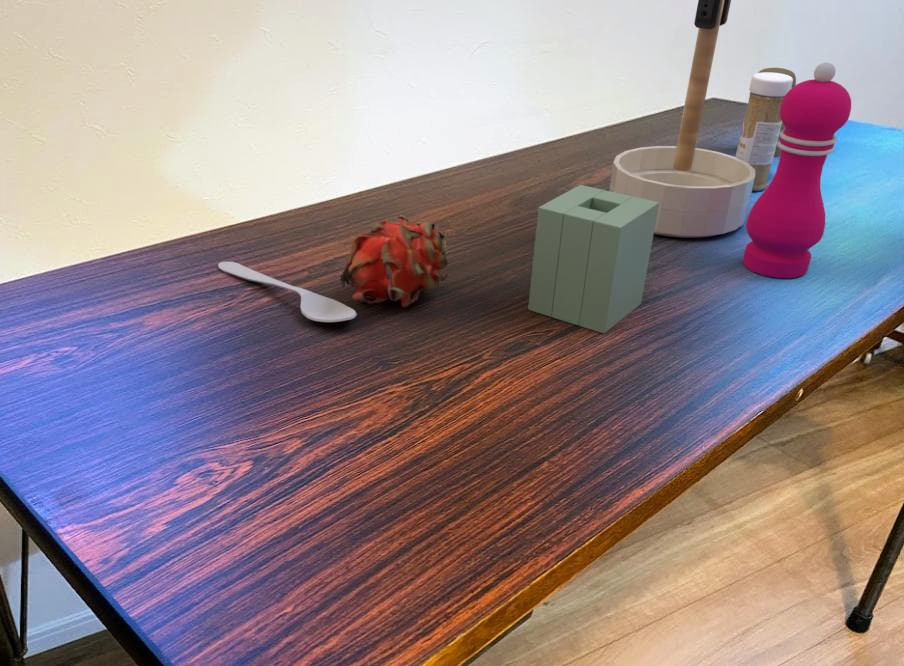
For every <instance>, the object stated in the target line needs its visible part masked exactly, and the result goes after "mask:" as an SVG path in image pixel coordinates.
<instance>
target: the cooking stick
mask: <svg viewBox="0 0 904 666" xmlns="http://www.w3.org/2000/svg"><path fill="white" fill-rule="evenodd" d="M724 1H725V0H722V6H721V11H720V16H719V21H718V25H717V27H715V28H713V29H703V28H698V30H697V35H696V41H695V46H694V52H693V56H692V62H691V67H690V73H689V79H688V84H687V89H686V93H685V94H686V95H685V100H684V104H683V105H684V106H683V111H682V117H681V121H680V128H679V133H678V138H677V141H676V142H677V143H676V146H677V148H676V153H675V159H674V164H673V168H674V169H677V170H682V171H687V170H691V168H692V163H693V158H694V153H695V148H697V143H698V137H699V133H700V128H701V127H700V126H701V122H702V118H703V113H704V112H703V111H704V107H705V102H706V96H707V92H708V87H709V81H710V76H711V72H712V66H713V61H714V56H715V51H716V46H717V41H718V36H719V32H720V31H719V30H720V21H721V16H722V11H723V6H724Z"/></svg>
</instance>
